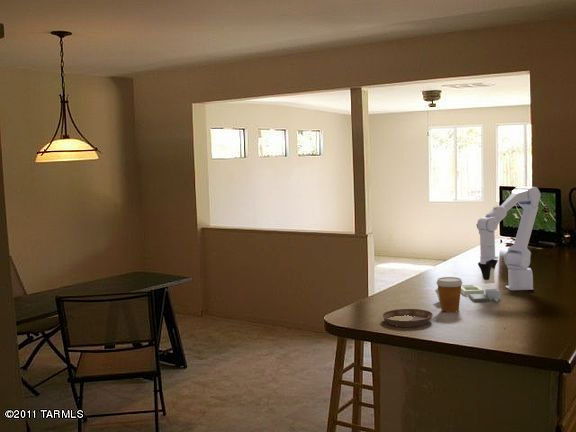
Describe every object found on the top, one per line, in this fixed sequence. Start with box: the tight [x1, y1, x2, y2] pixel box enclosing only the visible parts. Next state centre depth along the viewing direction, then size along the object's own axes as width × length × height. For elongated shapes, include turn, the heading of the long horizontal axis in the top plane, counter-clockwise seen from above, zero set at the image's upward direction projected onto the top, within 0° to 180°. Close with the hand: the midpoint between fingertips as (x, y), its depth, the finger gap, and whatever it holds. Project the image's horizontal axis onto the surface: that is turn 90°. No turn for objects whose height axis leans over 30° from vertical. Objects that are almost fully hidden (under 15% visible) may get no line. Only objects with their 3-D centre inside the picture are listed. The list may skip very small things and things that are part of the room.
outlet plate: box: [460, 284, 485, 296], centre depth 256 cm, size 8×12×2 cm, turn 177°
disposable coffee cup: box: [435, 276, 464, 313], centre depth 226 cm, size 10×10×12 cm
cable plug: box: [484, 288, 500, 303], centre depth 240 cm, size 4×8×4 cm, turn 177°
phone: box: [468, 293, 490, 303], centre depth 242 cm, size 6×9×1 cm, turn 177°
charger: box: [481, 267, 496, 284], centre depth 251 cm, size 4×4×7 cm
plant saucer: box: [381, 308, 434, 327], centre depth 214 cm, size 18×18×3 cm
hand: (488, 278), depth 251 cm, fingers closed on charger, 5 cm apart
